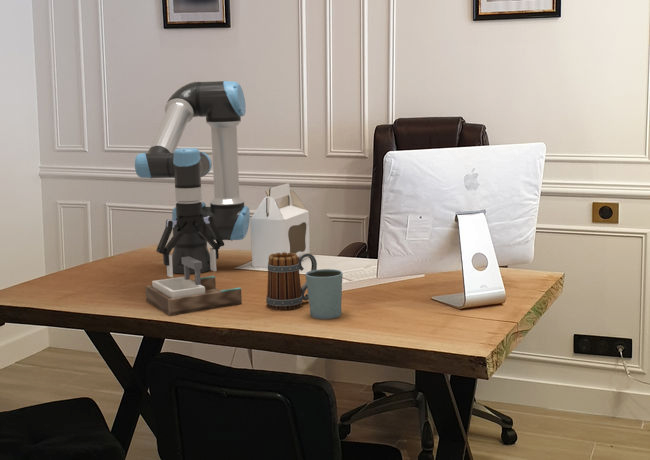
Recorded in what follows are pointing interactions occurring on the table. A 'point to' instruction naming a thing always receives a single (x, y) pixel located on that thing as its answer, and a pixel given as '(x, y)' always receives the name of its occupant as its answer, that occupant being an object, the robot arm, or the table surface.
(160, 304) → the bay
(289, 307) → the mug
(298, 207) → the gable box
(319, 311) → the teal coffee mug
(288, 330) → the table surface
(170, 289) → the white box with handle
